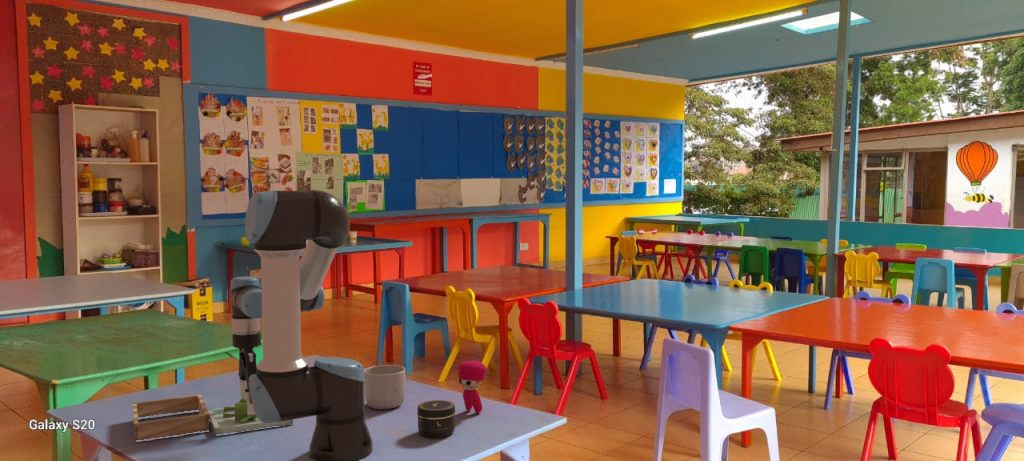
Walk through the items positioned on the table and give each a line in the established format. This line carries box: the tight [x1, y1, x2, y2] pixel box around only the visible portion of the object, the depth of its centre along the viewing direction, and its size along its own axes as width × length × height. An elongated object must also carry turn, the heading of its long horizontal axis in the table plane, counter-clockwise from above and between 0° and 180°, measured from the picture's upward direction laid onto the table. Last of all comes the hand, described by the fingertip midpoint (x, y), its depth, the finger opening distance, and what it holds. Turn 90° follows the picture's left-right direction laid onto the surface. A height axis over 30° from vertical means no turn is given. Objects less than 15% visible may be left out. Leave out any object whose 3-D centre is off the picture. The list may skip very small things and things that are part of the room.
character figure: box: [223, 398, 257, 424], centre depth 211 cm, size 12×5×12 cm
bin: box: [132, 393, 211, 441], centre depth 209 cm, size 22×18×5 cm
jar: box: [416, 399, 456, 439], centre depth 200 cm, size 10×10×8 cm
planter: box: [363, 364, 407, 410], centre depth 226 cm, size 12×12×11 cm
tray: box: [207, 405, 294, 435], centre depth 213 cm, size 20×20×2 cm
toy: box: [457, 359, 488, 414], centre depth 218 cm, size 8×8×15 cm
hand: (249, 408), depth 213 cm, fingers open, 12 cm apart
